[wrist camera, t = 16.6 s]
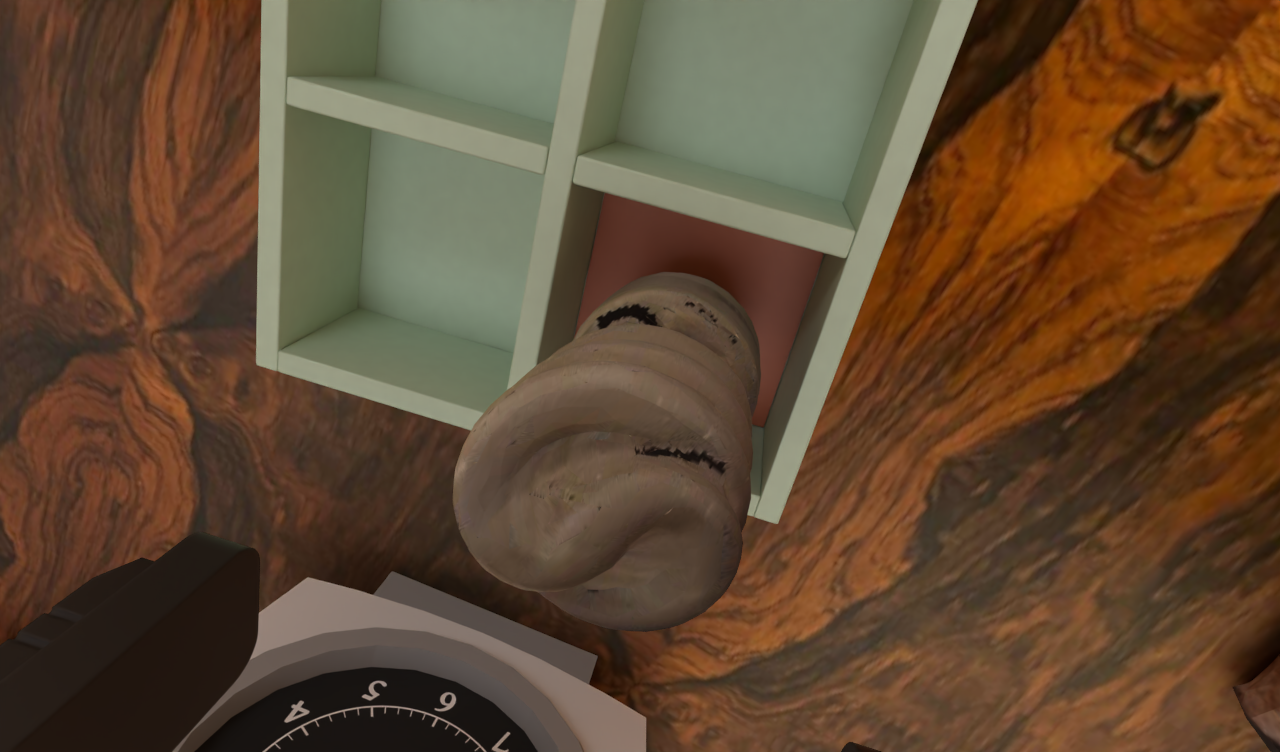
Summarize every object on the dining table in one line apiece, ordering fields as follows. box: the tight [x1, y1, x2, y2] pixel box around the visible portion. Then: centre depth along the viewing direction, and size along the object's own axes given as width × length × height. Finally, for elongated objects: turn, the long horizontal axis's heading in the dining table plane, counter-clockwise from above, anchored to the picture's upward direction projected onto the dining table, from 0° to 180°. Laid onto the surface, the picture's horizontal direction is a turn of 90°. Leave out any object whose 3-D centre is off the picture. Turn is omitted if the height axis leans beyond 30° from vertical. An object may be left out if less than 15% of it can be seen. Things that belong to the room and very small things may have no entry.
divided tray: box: [256, 0, 978, 524], centre depth 23 cm, size 18×18×6 cm
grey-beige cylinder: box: [453, 272, 761, 632], centre depth 19 cm, size 6×6×15 cm
